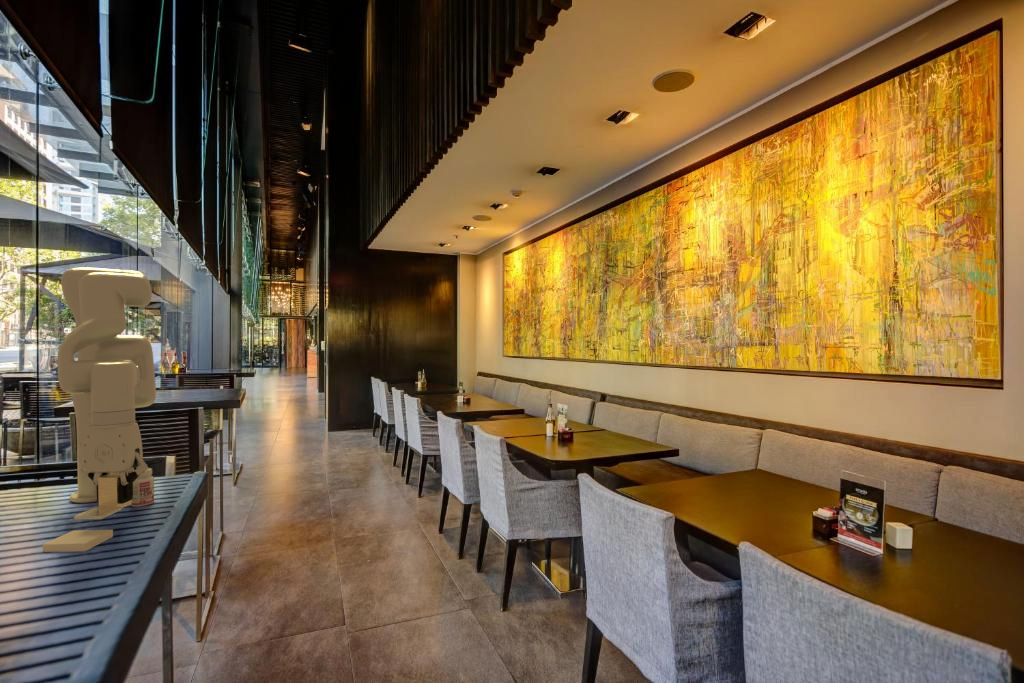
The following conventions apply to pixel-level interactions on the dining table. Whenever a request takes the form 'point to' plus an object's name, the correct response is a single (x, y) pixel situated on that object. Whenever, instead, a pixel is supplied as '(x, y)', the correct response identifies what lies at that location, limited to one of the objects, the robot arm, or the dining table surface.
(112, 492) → the beige boxy piece
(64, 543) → the block
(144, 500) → the pill bottle
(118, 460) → the robot arm
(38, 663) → the dining table surface
